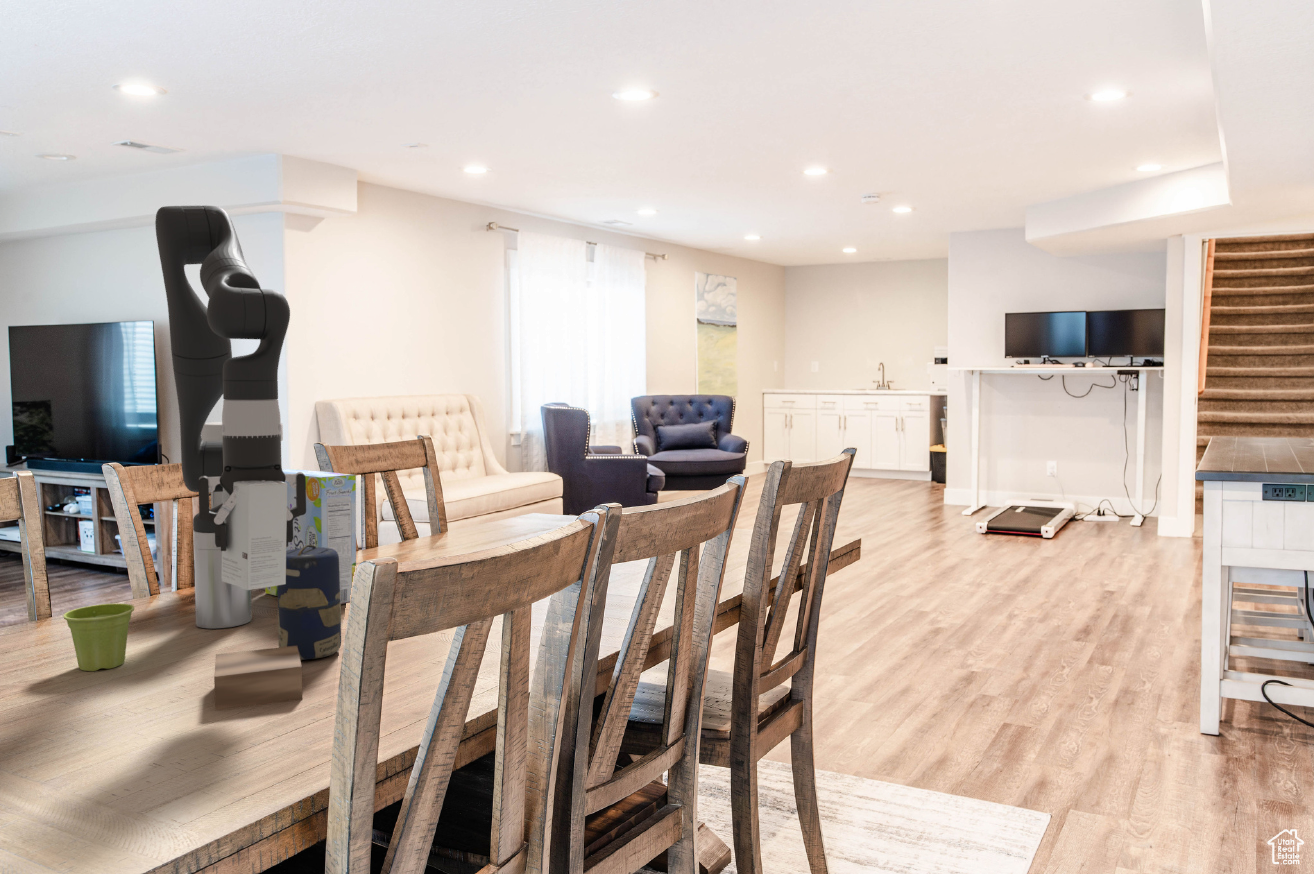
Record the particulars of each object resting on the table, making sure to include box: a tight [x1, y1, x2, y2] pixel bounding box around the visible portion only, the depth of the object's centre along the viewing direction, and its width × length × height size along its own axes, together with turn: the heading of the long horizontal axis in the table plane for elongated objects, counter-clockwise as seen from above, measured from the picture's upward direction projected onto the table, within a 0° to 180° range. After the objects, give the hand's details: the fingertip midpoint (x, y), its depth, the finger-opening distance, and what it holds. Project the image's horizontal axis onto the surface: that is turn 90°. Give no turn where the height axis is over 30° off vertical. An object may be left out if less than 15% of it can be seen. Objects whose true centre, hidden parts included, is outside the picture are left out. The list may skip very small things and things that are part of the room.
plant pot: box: [62, 603, 135, 672], centre depth 144 cm, size 9×9×9 cm
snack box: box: [265, 468, 357, 605], centre depth 188 cm, size 22×9×26 cm, turn 52°
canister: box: [277, 545, 342, 661], centre depth 149 cm, size 10×10×18 cm
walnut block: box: [213, 646, 303, 712], centre depth 132 cm, size 11×11×5 cm
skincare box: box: [221, 481, 287, 591], centre depth 131 cm, size 8×6×15 cm
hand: (254, 547), depth 131 cm, fingers closed on skincare box, 7 cm apart
